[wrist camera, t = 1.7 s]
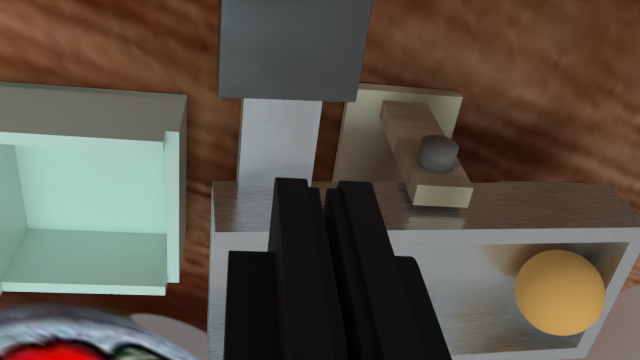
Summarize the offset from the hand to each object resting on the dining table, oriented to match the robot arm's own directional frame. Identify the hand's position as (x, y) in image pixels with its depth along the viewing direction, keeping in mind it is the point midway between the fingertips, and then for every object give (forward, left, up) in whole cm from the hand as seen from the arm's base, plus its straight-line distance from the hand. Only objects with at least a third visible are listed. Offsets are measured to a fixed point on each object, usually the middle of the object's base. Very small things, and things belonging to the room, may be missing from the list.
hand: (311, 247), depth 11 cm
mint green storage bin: (+9, +11, -21) cm, 25 cm away
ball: (-14, +11, -12) cm, 22 cm away
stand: (-7, +11, -21) cm, 25 cm away
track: (-7, +7, -16) cm, 19 cm away
